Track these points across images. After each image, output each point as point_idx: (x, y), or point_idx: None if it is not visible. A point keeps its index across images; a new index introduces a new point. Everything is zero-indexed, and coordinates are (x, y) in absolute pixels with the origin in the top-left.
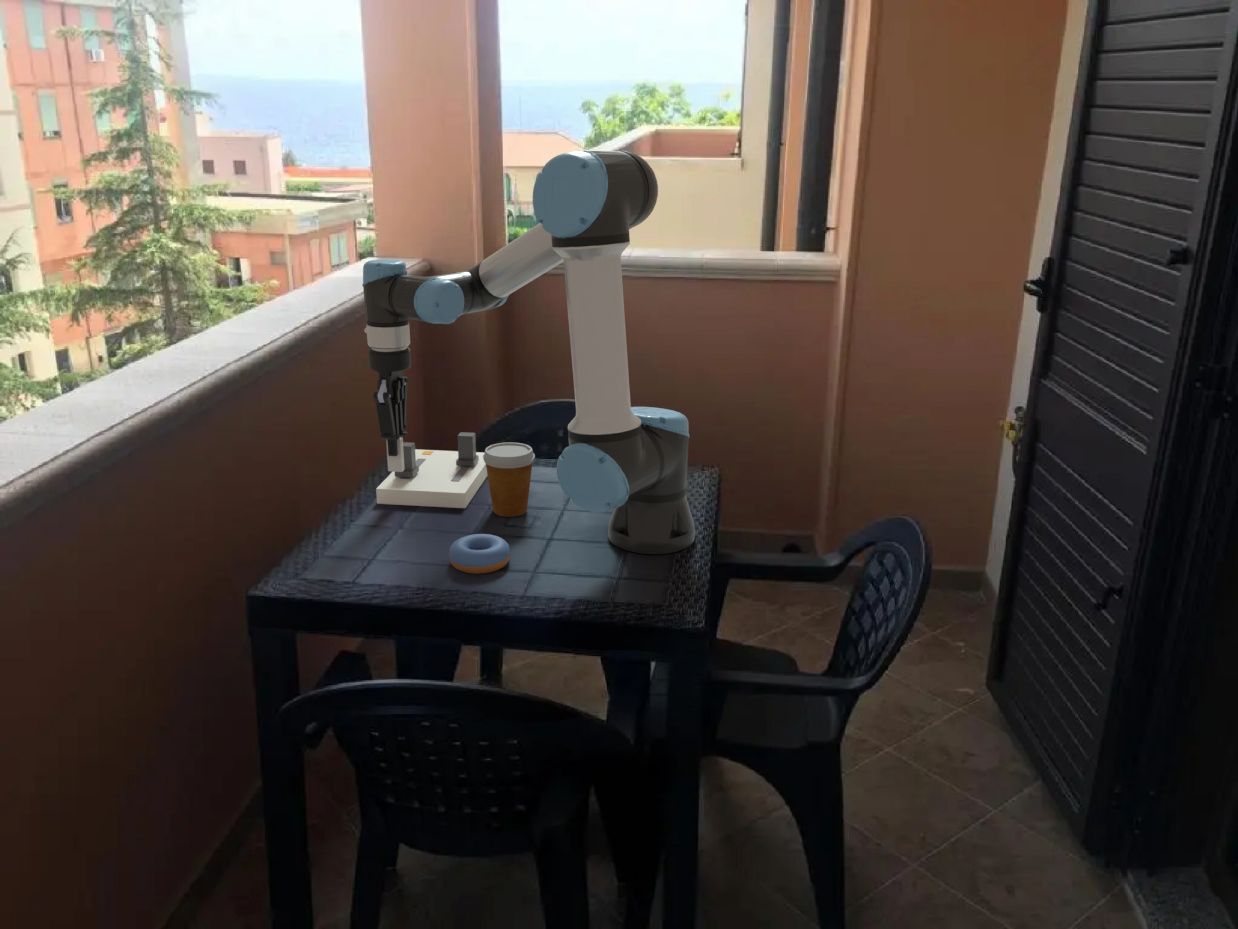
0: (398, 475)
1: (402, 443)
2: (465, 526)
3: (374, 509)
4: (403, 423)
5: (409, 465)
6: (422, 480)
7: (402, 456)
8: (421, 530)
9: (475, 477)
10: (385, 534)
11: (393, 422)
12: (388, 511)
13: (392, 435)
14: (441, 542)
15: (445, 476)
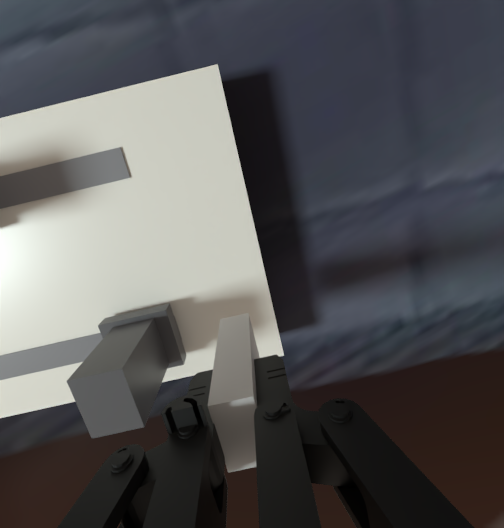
0: (182, 347)
1: (219, 379)
2: (355, 5)
3: (315, 319)
4: (133, 483)
5: (151, 335)
6: (166, 269)
7: (233, 343)
8: (416, 126)
9: (53, 107)
10: (461, 205)
11: (402, 508)
12: (316, 280)
13: (371, 422)
14: (487, 19)
15: (98, 218)
